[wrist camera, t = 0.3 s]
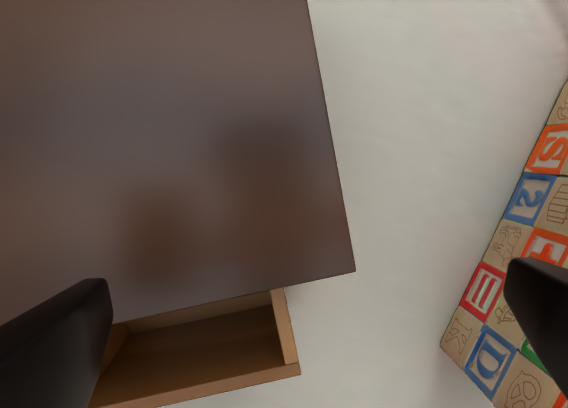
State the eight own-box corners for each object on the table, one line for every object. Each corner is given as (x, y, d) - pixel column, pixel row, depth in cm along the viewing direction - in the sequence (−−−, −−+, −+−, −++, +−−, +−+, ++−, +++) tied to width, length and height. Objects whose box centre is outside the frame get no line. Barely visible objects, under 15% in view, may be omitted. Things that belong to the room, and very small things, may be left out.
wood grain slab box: (287, 306, 26) (301, 375, 18) (125, 342, 25) (65, 429, 17) (253, 145, 24) (253, 141, 16) (82, 179, 24) (-5, 192, 16)
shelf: (311, 219, 25) (357, 271, 14) (61, 272, 24) (-101, 371, 13) (271, 13, 23) (287, -113, 12) (2, 63, 23) (-237, -23, 12)
